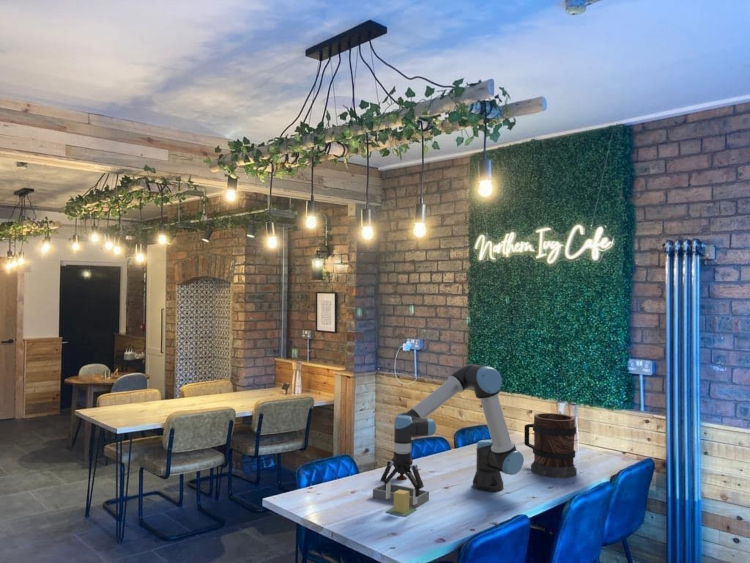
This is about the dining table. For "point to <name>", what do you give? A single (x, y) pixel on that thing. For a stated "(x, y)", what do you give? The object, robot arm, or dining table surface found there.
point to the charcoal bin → (381, 492)
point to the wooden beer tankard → (552, 445)
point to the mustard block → (401, 501)
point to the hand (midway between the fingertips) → (401, 501)
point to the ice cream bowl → (401, 474)
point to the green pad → (400, 512)
